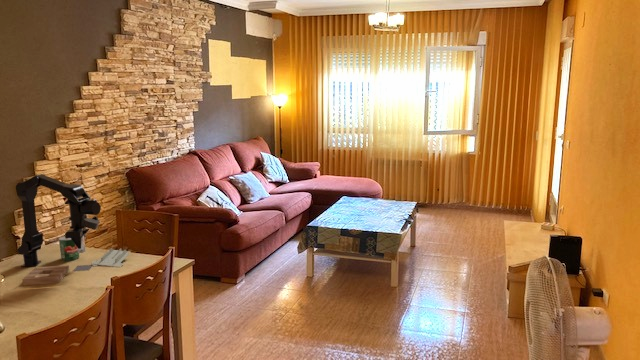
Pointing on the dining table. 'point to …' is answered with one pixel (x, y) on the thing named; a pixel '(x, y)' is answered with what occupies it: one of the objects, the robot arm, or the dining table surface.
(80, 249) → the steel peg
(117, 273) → the dining table surface
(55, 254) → the dining table surface
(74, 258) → the canned tomato
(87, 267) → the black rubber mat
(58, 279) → the walnut hole plate
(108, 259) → the metal bracket
